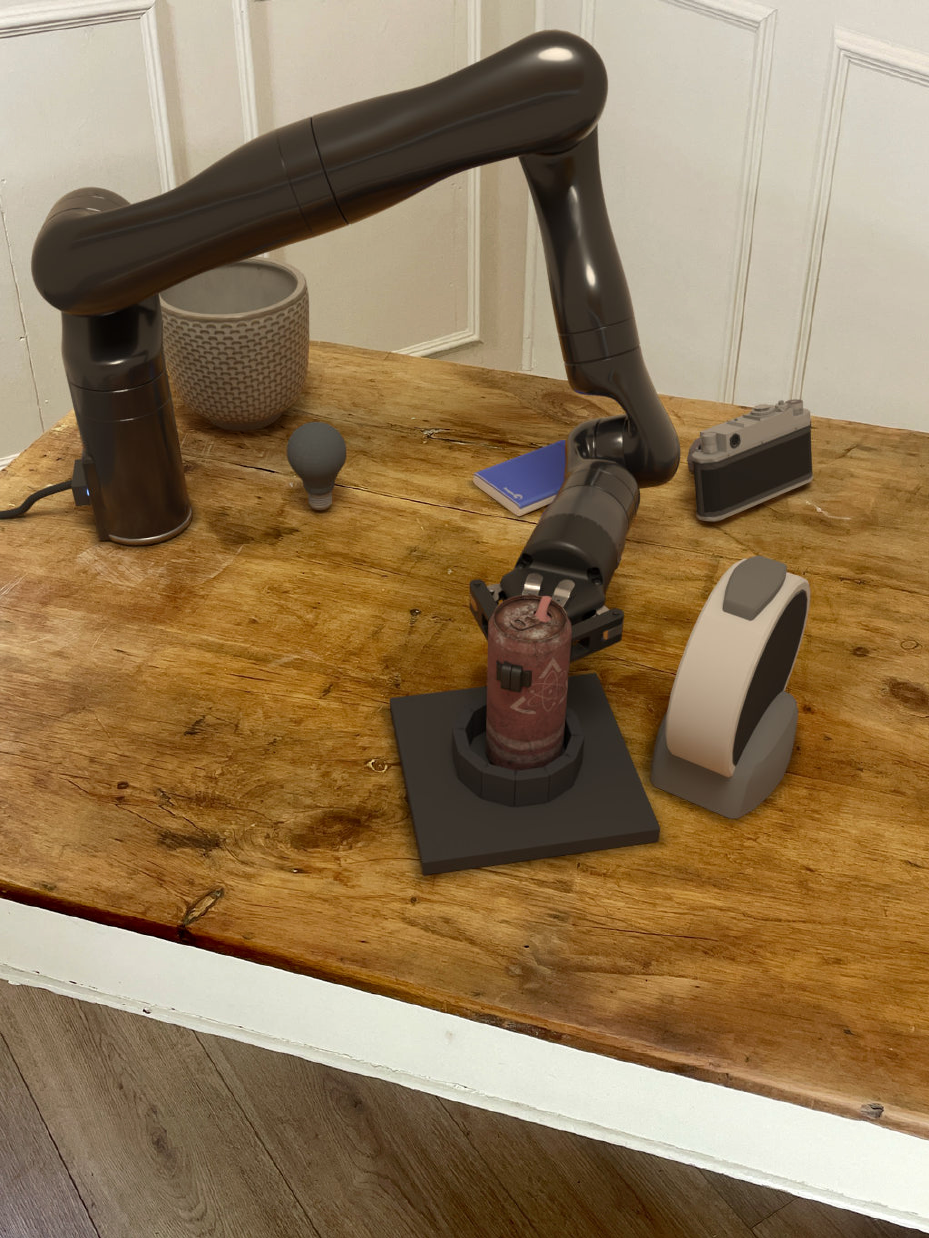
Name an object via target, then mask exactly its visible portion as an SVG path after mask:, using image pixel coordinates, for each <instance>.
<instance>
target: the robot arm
mask: <svg viewBox="0 0 929 1238" xmlns="http://www.w3.org/2000/svg"><path fill="white" fill-rule="evenodd" d="M608 96H609V76H608V72H607V68H606V65H605V63H604V60H603V59H602V57H601V55H600V53H599V52H598V51H597V49H596V48H595V47H594V45H592V44H591V43H590V42H589V41H587V40H586V39H584V38H583V37H581V36H580V35H577V34H575V33H573V32H572V31H571V32H570V31H567V30H561V29H543V30H538V31H535V32H533V33H530V34H528V35H527V36H524V37H523V38H521V39H519V40H517V41H515V42H513V43H511V44H510V45H508V46H505V47H504V48H501V49H500V50H498V51H496V52H494V53H491V54H490V55H488V56H486V57H484V58H482V59H480V60H478V61H475V62H474V63H472V64H470V65H467V66H465V67H462V68H461V69H459V70H457V71H455V72H452V73H450V74H448V75H445V76H443V77H440V78H438V79H436V80H434V81H431V82H427V83H425V84H423V85H422V84H421V85H419V86H416V87H412V88H407V89H403V90H399V91H395V92H390V93H386V94H381V95H378V96H374V97H370V98H366V99H362V100H358V101H355V102H352V103H348V104H345V105H342V106H340V107H336V108H334V109H333V108H332V109H330V110H329V109H328V110H326V111H322V112H319V113H316V114H313V115H312V116H311V115H310V116H307V117H306V118H305V117H304V118H302V119H299V120H297V121H294V122H291V123H289V124H286V125H283V126H281V127H277V128H275V129H272V130H270V131H268V132H265V133H263V134H261V135H259V136H257V137H255V138H253V139H251V140H249V141H246V142H245V143H244V144H242V145H240V146H238V147H237V148H235V149H234V150H232V151H231V152H229V153H227V154H226V155H224V156H223V157H221V158H220V159H218V160H217V161H215V162H213V163H212V164H211V165H209V166H207V167H206V168H205V169H203V170H201V171H200V172H199V173H197V174H196V175H195V176H193V177H191V178H190V179H188V180H187V181H185V182H183V183H181V184H179V185H178V186H177V187H174V188H172V189H170V190H168V191H166V192H163V193H161V194H159V195H156V196H152V197H150V198H147V199H144V200H141V201H137V202H134V203H131V202H130V201H128V200H127V199H126V198H125V197H123V196H122V195H120V194H118V193H116V192H114V191H112V190H110V189H106V188H102V187H96V186H87V187H81V188H76V189H73V190H71V191H69V192H67V193H65V194H64V195H63V196H62V197H60V198H59V199H58V200H57V201H56V202H55V203H54V204H53V205H52V207H51V208H50V210H49V212H48V214H47V216H46V218H45V220H44V221H43V224H42V225H41V228H40V230H39V232H38V234H37V235H36V238H35V240H34V243H33V248H32V251H31V259H30V271H31V273H30V274H31V277H32V282H33V284H34V287H35V289H36V290H37V292H38V294H39V295H40V297H42V299H43V300H44V301H45V302H47V303H48V304H49V305H50V306H51V307H53V308H54V309H56V310H58V311H60V317H61V346H60V350H61V360H62V364H63V368H64V372H65V376H66V380H67V384H68V389H69V394H70V398H71V403H72V406H73V412H74V417H75V420H76V425H77V429H78V430H77V431H78V433H79V438H80V443H81V447H82V448H81V456H80V458H77V459H74V463H73V470H72V478H71V479H69V480H65V481H62V482H59V483H57V484H53V485H50V486H47V487H44V488H42V489H40V490H37V491H36V492H34V493H32V494H30V495H29V496H27V498H26V499H25V500H24V501H23V502H22V503H21V504H20V505H19V506H18V507H15V508H10V509H7V510H0V520H7V519H8V520H9V519H13V518H16V517H17V518H18V517H19V516H22V515H25V514H26V513H27V512H28V511H29V510H30V509H31V508H32V507H33V506H34V504H36V502H38V501H40V500H42V499H44V498H46V497H49V496H52V495H55V494H58V493H62V492H65V491H69V490H71V492H72V497H73V500H74V504H75V507H85V506H90V507H91V511H92V515H93V520H94V524H95V528H96V532H97V538H98V541H100V542H102V541H112V542H114V543H117V544H121V545H127V546H146V545H147V546H148V545H152V544H158V543H161V542H164V541H167V540H170V539H172V538H174V537H176V536H178V535H179V534H181V533H182V532H183V531H184V530H185V529H187V528H188V526H190V523H191V522H192V518H193V509H192V506H191V503H190V497H189V492H188V487H187V480H186V474H185V469H184V461H183V457H182V451H181V445H180V438H179V432H178V427H177V421H176V415H175V409H174V403H173V397H172V391H171V385H170V379H169V372H168V369H167V365H166V361H165V355H164V347H163V318H162V311H161V304H160V297H159V293H160V292H162V291H165V290H167V289H169V288H171V287H173V286H175V285H177V284H179V283H181V282H183V281H186V280H188V279H190V278H192V277H195V276H197V275H200V274H202V273H205V272H207V271H210V270H213V269H216V268H219V267H222V266H226V265H229V264H232V263H236V262H239V261H242V260H246V259H249V258H252V257H255V256H256V257H259V256H261V255H263V254H264V255H265V254H267V253H269V252H273V251H275V250H278V249H281V248H284V247H287V246H291V245H294V244H298V243H300V242H304V241H307V240H310V239H313V238H317V237H320V236H323V235H326V234H328V233H331V232H334V231H337V230H340V229H343V228H345V227H348V226H350V225H354V224H356V223H359V222H361V221H364V220H366V219H369V218H371V217H373V216H376V215H377V214H380V213H382V212H384V211H386V210H389V209H391V208H393V207H395V206H397V205H399V204H401V203H403V202H405V201H407V200H409V199H411V198H413V197H414V196H416V195H417V194H420V193H421V192H423V191H425V190H427V189H429V188H431V187H432V186H434V185H436V184H438V183H439V182H442V181H444V180H446V179H447V178H450V177H452V176H455V175H458V174H460V173H464V172H466V171H468V170H473V169H475V168H478V167H483V166H487V165H490V164H491V165H492V164H494V163H499V162H502V161H506V160H510V159H514V158H517V159H518V162H519V164H520V167H521V169H522V172H523V174H524V177H525V180H526V183H527V186H528V190H529V193H530V197H531V200H532V203H533V204H532V205H533V207H534V211H535V215H536V219H537V223H538V228H539V233H540V237H541V238H540V239H541V243H542V248H543V254H544V261H545V267H546V274H547V281H548V287H549V293H550V300H551V304H552V311H553V318H554V322H555V327H556V331H557V337H558V343H559V346H560V351H561V357H562V360H563V365H564V370H565V374H566V378H567V382H568V384H569V386H570V388H571V390H572V391H573V392H574V393H576V394H578V395H582V396H583V395H584V396H592V397H604V398H608V399H611V400H613V401H615V402H616V403H617V404H618V405H619V406H620V407H621V409H622V411H624V413H622V414H616V415H609V416H604V417H603V416H602V417H597V418H596V417H595V418H591V419H587V420H584V421H582V422H580V423H578V424H577V425H575V426H574V427H573V428H572V429H571V430H570V431H569V432H568V434H567V435H566V439H565V469H564V477H563V483H562V485H561V487H560V489H559V491H558V492H557V494H556V496H555V498H554V500H553V502H552V503H551V504H548V505H547V507H546V508H545V510H544V511H543V513H542V514H541V516H540V518H539V520H538V522H537V523H536V525H535V527H534V529H533V531H532V533H530V536H529V538H528V539H527V541H526V544H525V545H524V547H523V549H522V551H521V552H520V554H519V556H518V558H517V560H516V562H515V565H514V566H513V569H512V570H509V572H507V573H505V574H503V575H502V577H501V579H500V581H499V583H495V584H494V583H493V584H490V585H487V584H486V582H485V581H484V580H482V579H479V578H478V579H477V578H476V579H472V580H471V581H469V610H470V612H471V614H472V616H473V618H474V620H475V622H476V624H477V625H478V627H479V629H480V631H481V632H482V634H483V637H484V638H485V640H486V642H487V643H488V622H489V620H490V618H491V616H492V614H493V613H494V611H495V609H496V607H497V606H498V605H499V604H500V601H501V602H503V601H505V600H507V599H509V598H511V597H515V596H520V595H538V596H550V597H551V598H552V600H554V601H556V602H557V603H558V604H559V605H561V606H562V607H563V608H564V610H565V612H566V613H567V617H568V619H569V620H570V622H571V628H572V636H571V649H570V662H569V665H570V664H572V663H575V662H576V661H579V660H581V659H583V658H586V657H588V656H590V655H594V654H595V653H597V652H600V651H602V650H605V649H606V648H609V647H610V646H613V645H615V644H618V643H620V642H621V641H622V640H623V639H622V638H623V633H624V632H623V631H624V618H625V611H623V610H622V609H620V608H616V607H615V608H611V609H609V607H607V606H606V605H605V604H606V601H607V600H606V593H607V591H608V589H609V587H610V584H611V581H612V580H613V578H614V575H615V572H616V570H618V569H619V566H620V563H621V561H622V559H623V558H622V557H623V553H624V551H625V547H626V542H627V536H628V534H629V533H630V530H631V528H632V525H633V523H634V521H635V518H636V516H637V513H638V512H639V507H640V504H641V489H642V490H643V489H648V488H649V489H650V488H651V489H652V488H657V487H661V486H664V485H666V484H668V483H669V482H670V481H672V479H673V478H674V477H675V475H676V473H677V472H678V468H679V466H680V462H681V455H682V454H681V444H680V439H679V436H678V433H677V430H676V428H675V426H674V423H673V421H672V419H671V417H670V416H669V413H668V412H667V410H666V408H665V406H664V405H663V402H662V401H661V398H660V396H659V394H658V393H657V390H656V387H655V385H654V383H653V381H652V378H651V375H650V373H649V371H648V369H647V366H646V362H645V359H644V356H643V351H642V346H641V341H640V337H639V331H638V325H637V321H636V315H635V311H634V305H633V300H632V297H631V292H630V288H629V284H628V280H627V276H626V272H625V269H624V266H623V262H622V259H621V256H620V252H619V249H618V246H617V245H618V244H617V241H616V238H615V235H614V232H613V228H612V225H611V221H610V216H609V212H608V208H607V204H606V199H605V193H604V188H603V181H602V173H601V167H600V166H601V164H600V149H599V148H600V147H599V122H600V120H601V118H602V116H603V113H604V111H605V108H606V106H607V105H606V104H607V100H608ZM573 643H574V644H573ZM496 680H497V681H501V689H506V690H511V691H514V692H519V693H520V692H521V691H522V686H523V687H527V688H529V687H530V686H531V685H532V671H523V666H520V665H515V664H514V665H513V664H511V663H509V662H507V661H504V663H503V664H502V663H500V662H499V661H498V660H497V661H496Z"/></svg>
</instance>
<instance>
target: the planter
mask: <svg viewBox="0 0 929 1238" xmlns="http://www.w3.org/2000/svg"><path fill="white" fill-rule="evenodd" d="M159 297H160V304H161V311H162V318H163V347H164V355H165V361H166V367H167V373H168V376H169V378H170V380H171V383H172V387H173V388H174V390H175V392H176V394H177V396H178V397H179V399H180V400H181V402H182V403H183V404H184V405H185V406H186V407H187V408H188V409H189V410H191V411H192V412H194V413H196V415H198V416H201V417H203V418H206V419H208V421H209V422H210V423H211V424H212V425H214V426H216V427H217V428H220V429H222V430H226V431H229V432H230V431H231V432H249V431H250V432H251V431H254V430H260V429H262V428H266V427H268V426H270V425H272V424H273V423H276V421H277V420H278V419H279V418H280V417H281V416H282V414H283V412H284V411H285V410H287V409H288V408H289V407H291V406H292V405H294V403H295V402H296V400H298V398H299V397H300V396H301V394H302V392H303V391H304V388H305V385H306V381H307V377H308V370H309V361H310V360H309V359H310V295H309V287H308V282H307V278H306V277H305V275H304V274H303V273H302V271H300V269H298V268H297V267H295V266H293V265H292V264H289V263H287V262H284V261H281V260H278V259H275V258H271V257H270V258H269V257H263V256H255V257H252V258H249V259H246V260H242V261H239V262H236V263H232V264H229V265H226V266H222V267H219V268H216V269H213V270H210V271H207V272H205V273H202V274H200V275H197V276H195V277H192V278H190V279H188V280H186V281H183V282H181V283H179V284H177V285H175V286H173V287H171V288H169V289H167V290H165V291H162V292H160V293H159Z"/></svg>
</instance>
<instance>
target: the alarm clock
mask: <svg viewBox="0 0 929 1238" xmlns="http://www.w3.org/2000/svg"><path fill="white" fill-rule="evenodd" d="M811 594H812V593H811V588H810V584H809V581H808V579H806V578H805V577H802V576H800V575H796V574H793V573H791V572H788V566H787V564H786V563H784V562H782V561H778V560H775V559H772V558H768V557H765V556H763V555H755V556H751V557H749V558H742V559H740V560H738V561H737V562H734V563H732V565H731V566H730V567H729V568H728V569H727V570H726V571H725V572H724V573H723V574H722V576H721V577H720V579H719V580H718V581H717V583H716V584H715V586H714V587H713V589H712V591H711V592H710V594H709V596H708V598H707V600H706V601H705V603H704V605H703V607H702V609H701V611H700V613H699V615H698V617H697V619H696V621H695V624H694V626H693V628H692V631H691V633H690V635H689V638H688V639H687V642H686V645H685V648H684V651H683V654H682V656H681V659H680V661H679V665H678V667H677V670H676V674H675V678H674V681H673V684H672V688H671V691H670V696H669V702H668V706H667V711H666V712H665V714H664V715H663V718H662V720H661V723H660V726H659V728H658V732H657V735H656V738H655V743H654V748H653V752H652V753H653V754H652V759H651V763H650V775H649V776H650V779H649V780H650V783H651V784H652V785H653V787H655V788H657V789H660V790H662V791H664V792H667V793H669V794H671V795H673V796H676V797H678V798H681V799H683V800H686V801H687V802H689V803H692V804H694V805H697V806H699V807H702V808H703V809H706V810H708V811H711V812H713V813H715V814H717V815H721V816H722V817H725V818H726V819H727V818H728V819H729V820H735V819H737V820H738V819H740V818H742V817H744V816H745V815H747V814H749V813H750V812H753V811H754V810H755V809H757V808H758V807H759V806H760V805H761V804H762V803H763V802H764V801H765V800H766V799H768V798H769V797H770V796H771V794H773V792H774V791H775V789H776V788H777V786H778V785H779V784H780V783H781V781H782V780H783V779H784V776H785V774H786V772H787V769H788V767H789V764H790V762H791V758H792V754H793V749H794V745H795V739H796V733H797V727H798V718H799V708H798V701H797V700H796V698H795V697H794V696H793V695H792V694H791V693H789V692H787V691H786V688H787V686H788V683H789V680H790V679H791V676H792V672H793V670H794V667H795V663H796V661H797V658H798V655H799V652H800V648H801V645H802V641H803V638H804V634H805V630H806V627H807V621H808V616H809V611H810V604H811Z"/></svg>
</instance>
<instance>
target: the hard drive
mask: <svg viewBox="0 0 929 1238" xmlns="http://www.w3.org/2000/svg"><path fill="white" fill-rule="evenodd" d="M565 441H566V439H559V440H557V441H555V442H553V443H551V444H548V445H545V446H542V447H540V448H537V449H534V450H532V451H529V452H527V453H524V454H521V455H519V456H515V457H513V458H511V459H507V460H505V461H502V462H500V463H497V464H495V465H491V466H489V467H486V468H484V469H481V470H478V471H476V472H473V475H472V476H473V479H472V481H473V484H474V485H475V487H477V488H479V489H480V490H481V491H483V492H484V493H485V494H486V495H488V496H489V497H491V498H493V500H494V501H496V502H497V503H499V504H500V505H502V506H503V507H504V508H505V509H507V510H508V511H510V512H511V513H512V514H513V515H515V516H517V517H521V516H524V515H526V514H528V513H531V512H534V511H536V510H539V509H541V508H543V507H545V506H549V505H550V504H551V503H552V502H553V500H554V498H555V496H556V494H557V492H558V491H559V489H560V487H561V485H562V483H563V477H564V469H565Z"/></svg>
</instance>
